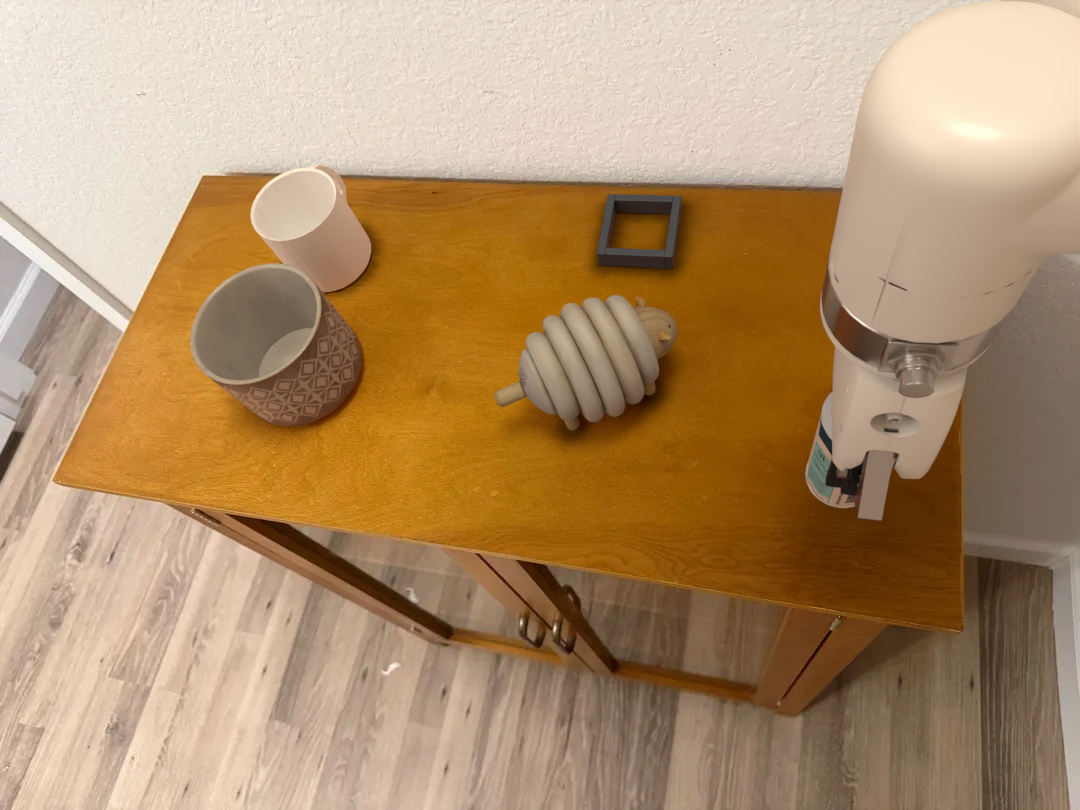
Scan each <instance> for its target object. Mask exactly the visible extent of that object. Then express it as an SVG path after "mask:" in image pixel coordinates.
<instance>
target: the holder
mask: <svg viewBox="0 0 1080 810" xmlns="http://www.w3.org/2000/svg"><path fill="white" fill-rule="evenodd" d="M682 198H683V197H682V195H663V194H662V195H661V194H624V193H623V194H621V193H618V194H617V193H616V194H615V193H608V194H607V197H606V203H605V204H606V205H605V209H604V213H603V218H602V219H603V220H602V223H601V229H600V235H599V239H598V243H597V244H598V246H597V250H596V257H597V261H598V266H604V267H605V266H606V267H607V266H608V267H624V268H625V267H626V268H645V269H667V270H673V269H674V267H675V259H676V254H677V245H678V241H679V240H678V239H679V231H680V225H681V217H682V211H683V199H682ZM618 213H619V214H649V215H650V214H651V215H652V214H653V215H655V214H656V215H669V222H668V229H667V235H666V242H665V249H645V248H623V247H622V248H621V247H611V245H612V240H613V234H614V229H615V224H616V223H615V222H616V217H617V214H618Z"/></svg>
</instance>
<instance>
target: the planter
mask: <svg viewBox="0 0 1080 810" xmlns="http://www.w3.org/2000/svg"><path fill="white" fill-rule="evenodd" d="M189 344H190V345H189V346H190V352H191V356H192V358H193V361H194V362H195V365H196V367H197V368H198V369H199V370H200V371H201V372H202V373H203V374H204V375H205V376H206V377H208V378H209V379H210V380H212V381H213V382H214V383H216V385H218V386H219V387H221V389H223V390H224V391H225V392H226V393H228V394H229V395H231V396H232V397H233V398H234V399H235V400H237V401H238V402H239V403H241V404H242V405H243V406H244V407H246V408H247V409H248V410H250V411H251V412H252V413H253V414H254V415H255V416H257V417H258V418H260V419H261V420H263V421H264V422H267V423H269V424H272V425H275V426H280V427H298V426H303V425H307V424H310V423H313V422H316V421H318V420H320V419H322V418H324V417H326V416H327V415H329V414H330V413H332V412H333V411H334V410H335V409H337V408H338V407H339V406H340V405H341V404H342V403H343V402H344V401H345V400H346V399H347V397H348V396H349V395H350V393H351V392H352V390H353V388H354V387H355V384H356V383H357V381H358V378H359V375H360V372H361V367H362V358H363V357H362V355H363V354H362V347H361V344H360V340H359V338H358V336H357V335H356V333H355V331H354V330H353V328H352V327H351V326H350V325H349V323H348V322H347V321H346V320H345V318H344V317H343V316H342V315H341V314H340V312H339V311H338V310H337V309H336V307H335V306H334V305H333V303H332V302H331V301H330V300H329V298H328V297H327V296H326V295H325V293H324V292H322V291H321V290H320V289H319V287H318V286H317V285H316V283H315V282H314V281H313V280H312V278H311V277H310V276H309V275H307V274H306V273H305V272H304V271H302V270H300V269H299V268H296V267H294V266H291V265H287V264H283V263H280V262H271V263H270V262H268V263H263V264H262V263H261V264H256V265H252V266H250V267H247V268H245V269H242V270H240V271H238V272H235V273H234V274H233V275H231V276H229V277H228V278H226V279H225V280H223V281H222V282H221V283H220V284H219V285H217V287H215V289H213V290H212V291H211V292H210V294H209V295H208V296H207V297H206V298H205V299H204V301H203V302H202V304H201V305H200V307H199V309H198V311H197V313H196V315H195V317H194V319H193V322H192V326H191V330H190V337H189Z"/></svg>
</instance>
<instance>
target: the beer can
mask: <svg viewBox="0 0 1080 810" xmlns="http://www.w3.org/2000/svg"><path fill="white" fill-rule="evenodd" d="M832 393H833V392H831V391H830V393H829V394H828V396H827V397H826V398H825V400H824V402H823V404H822V408H821V413H820V416H819V420H818V424H817V428H816V432H815V435H814V439H813V442H812V446H811V450H810V453H809V457H808V461H807V464H806V467H805V482H806V485H807V486H808V489H809V491H810V492H811V493H812V495H813V496H815V498H816V499H818V500H819V501H820V502H822V503H824V504H825V505H828V506H830V507H833V508H838V509H849V508H855V503H854V501H855V496H852V495H845V494H843V493H841V488H836V487H829V486H826V485H825V482H826V475H827V472H828V469H829V466H830V463H831V460H832Z"/></svg>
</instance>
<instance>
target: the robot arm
mask: <svg viewBox="0 0 1080 810" xmlns="http://www.w3.org/2000/svg"><path fill="white" fill-rule="evenodd" d="M857 112H858V113H857V118H856V122H855V127H854V132H853V137H852V142H851V146H850V152H849V157H848V161H847V167H846V172H845V176H844V181H843V186H842V190H841V197H840V201H839V206H838V211H837V215H836V220H835V226H834V230H833V235H832V241H831V244H830V245H831V246H830V251H829V254H828V259H827V264H826V269H825V273H824V279H823V283H822V284H823V285H822V288H821V289H822V290H821V294H820V299H819V313H820V317H821V323H822V326H823V328H824V331H825V333H826V335H827V337H828V338H829V340H830V341H831V343H832V344H833V346H834V353H833V367H832V387H831V390H830V393H831V392H833V393H832V460H831V463H830V466H829V469H828V472H827V475H826V482H825V485H826V486H829V487H836V488H841V493H843V494H845V495H852V496H855V501H854V503H855V507H854V511H855V518H856V519H860V520H867V521H875V522H882V521H883V516H884V512H885V511H884V510H885V507H886V506H885V505H886V502H887V501H886V500H887V495H888V489H889V484H890V479H891V475H892V471H893V469H894V470H895V471H896V473H897V475H898V476H899V477H900V478H901V479H904V480H920V479H922V478H923V477H924V476H925V475H926V474H927V473H928V472H929V471H930V469H931V468H932V465H933V464H934V462H935V460H936V458H937V457H938V454H939V453H940V451H941V449H942V447H943V444H944V443H945V440H946V438H947V436H948V434H949V432H950V430H951V427H952V425H953V422H954V420H955V417H956V414H957V412H958V409H959V405H960V403H961V400H962V396H963V393H964V388H965V383H966V379H967V375H968V369H969V367H970V365H971V366H972V364H974V363H975V362H976V361H977V360H978V359H980V357H982V356H983V355H984V354H985V352H987V350H988V348H989V347H990V346H991V344H992V343H993V342H994V341H995V338H996V337H997V335H998V333H999V332H1000V330H1001V328H1002V327H1003V325H1004V323H1005V322H1006V320H1007V319H1008V317H1009V315H1010V314H1011V312H1012V311H1013V309H1014V308H1015V306H1016V305H1017V303H1018V301H1019V300H1020V298H1021V297H1022V295H1023V293H1024V292H1025V291H1026V288H1027V287H1028V286H1029V284H1030V282H1031V281H1032V279H1033V277H1034V276H1035V274H1036V272H1037V271H1038V270H1039V268H1040V266H1041V264H1042V263H1043V261H1044V260H1045V258H1047V257H1052V256H1065V255H1080V0H990V1H989V0H988V1H979V2H973V3H968V4H963V5H959V6H955V7H952V8H949V9H946V10H943V11H941V12H938V13H935V14H934V15H931V16H930V17H928V18H926V19H924V20H921V21H920V22H919V23H917V24H916V25H914V26H913V27H912V28H910V29H908V30H907V31H905V32H904V33H902V34H901V35H900V36H899V37H898V38H897V39H896V40H895V41H894V42H893V43H892V44H891V45H890V46H888V48H887V49H886V50H885V52H884V53H883V54H882V55H881V57H880V58H879V59H878V61H877V62H876V64H875V66H874V68H873V70H872V72H871V74H870V76H869V77H868V80H867V81H866V84H865V86H864V89H863V93H862V97H861V100H860V104H859V107H858V111H857Z"/></svg>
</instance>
